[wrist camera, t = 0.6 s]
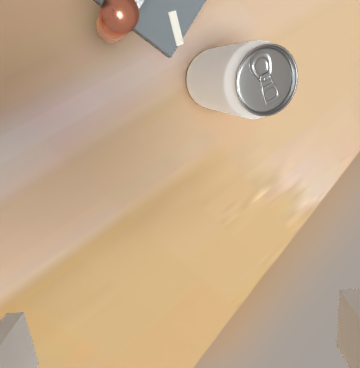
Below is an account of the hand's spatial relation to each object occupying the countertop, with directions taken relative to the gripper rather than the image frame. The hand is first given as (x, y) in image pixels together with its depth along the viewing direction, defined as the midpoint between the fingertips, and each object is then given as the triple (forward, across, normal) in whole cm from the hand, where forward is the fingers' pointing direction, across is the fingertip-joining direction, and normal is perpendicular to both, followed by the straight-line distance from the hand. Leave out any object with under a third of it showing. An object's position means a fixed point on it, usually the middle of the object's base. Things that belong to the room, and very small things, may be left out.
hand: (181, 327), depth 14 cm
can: (+28, +4, +10) cm, 30 cm away
